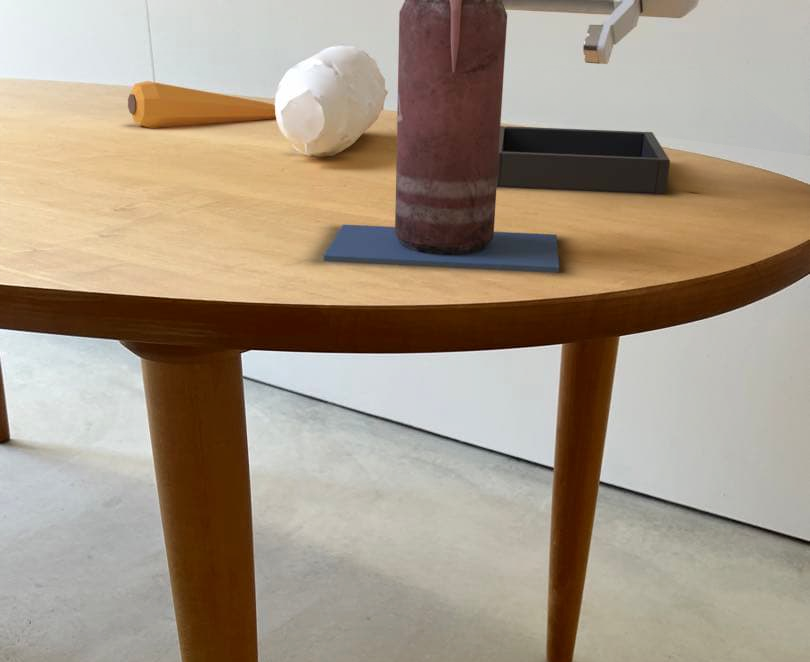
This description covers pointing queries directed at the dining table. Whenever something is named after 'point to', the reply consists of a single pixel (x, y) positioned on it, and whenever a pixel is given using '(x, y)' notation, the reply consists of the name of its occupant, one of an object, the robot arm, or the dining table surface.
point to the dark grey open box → (581, 160)
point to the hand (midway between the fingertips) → (526, 53)
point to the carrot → (190, 106)
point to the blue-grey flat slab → (498, 255)
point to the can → (448, 123)
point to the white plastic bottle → (329, 100)
